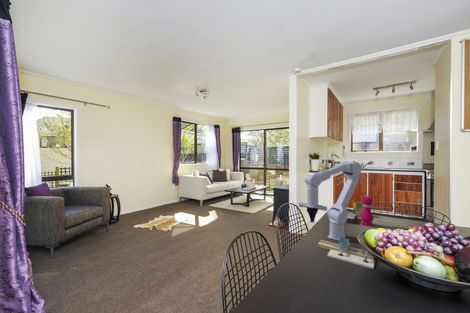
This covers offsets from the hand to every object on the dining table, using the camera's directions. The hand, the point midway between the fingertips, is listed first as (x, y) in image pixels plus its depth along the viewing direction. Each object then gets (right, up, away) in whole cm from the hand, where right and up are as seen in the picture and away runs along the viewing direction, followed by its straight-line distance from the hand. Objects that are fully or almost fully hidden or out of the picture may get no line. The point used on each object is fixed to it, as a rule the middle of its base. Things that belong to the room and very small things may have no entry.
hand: (312, 221), depth 117 cm
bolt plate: (+10, -11, -20) cm, 25 cm away
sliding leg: (+10, -10, -14) cm, 19 cm away
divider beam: (+10, -11, -14) cm, 20 cm away
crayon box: (+52, -10, +46) cm, 70 cm away
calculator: (+38, -10, +36) cm, 53 cm away
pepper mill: (+45, -10, +25) cm, 53 cm away
